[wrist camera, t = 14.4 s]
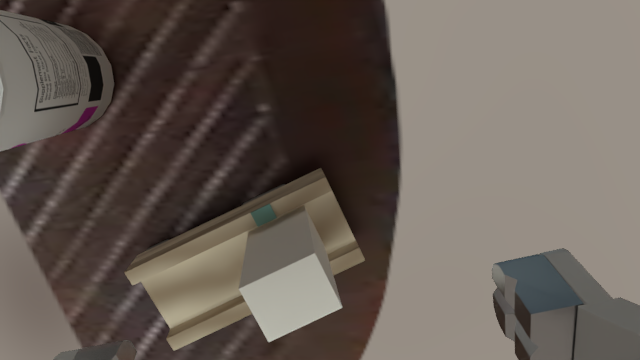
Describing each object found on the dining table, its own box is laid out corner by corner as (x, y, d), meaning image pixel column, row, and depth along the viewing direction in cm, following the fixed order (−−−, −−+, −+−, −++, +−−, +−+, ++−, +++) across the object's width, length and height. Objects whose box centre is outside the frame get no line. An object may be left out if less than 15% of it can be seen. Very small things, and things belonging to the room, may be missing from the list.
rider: (248, 232, 37) (238, 289, 27) (304, 205, 37) (314, 252, 27) (270, 273, 38) (268, 342, 28) (325, 247, 38) (342, 307, 28)
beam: (143, 246, 41) (123, 273, 35) (318, 163, 40) (325, 177, 35) (186, 316, 43) (173, 352, 37) (353, 236, 42) (365, 261, 37)
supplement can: (96, 145, 38) (-13, 190, 24) (-6, 102, 37) (-189, 121, 22) (132, 54, 37) (40, 42, 23) (28, 5, 36) (-143, -41, 21)
